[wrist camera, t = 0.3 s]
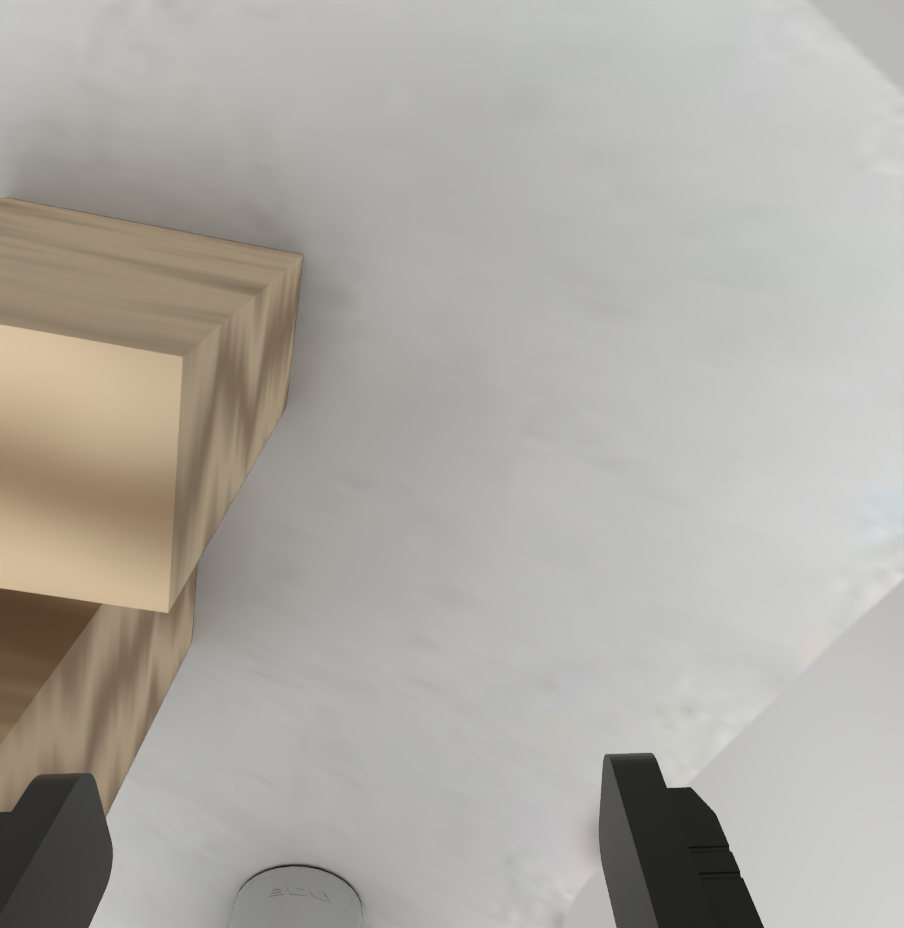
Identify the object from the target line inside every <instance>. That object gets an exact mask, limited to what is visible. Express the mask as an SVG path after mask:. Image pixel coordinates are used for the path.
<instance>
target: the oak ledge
mask: <svg viewBox="0 0 904 928" xmlns="http://www.w3.org/2000/svg"><path fill="white" fill-rule="evenodd" d="M302 263H303V255H301V254H296V253H291V252H286V251H281V250H276V249H270V248H265V247H260V246H255V245H250V244H244V243H239V242H234V241H229V240H224V239H219V238H213V237H208V236H203V235H198V234H193V233H187V232H182V231H177V230H172V229H167V228H162V227H156V226H151V225H146V224H141V223H136V222H130V221H125V220H120V219H115V218H110V217H105V216H99V215H94V214H89V213H84V212H79V211H73V210H68V209H63V208H58V207H53V206H48V205H42V204H37V203H32V202H27V201H22V200H16V199H11V198H2V199H0V588H3V589H10V590H17V591H23V592H30V593H37V594H43V595H50V596H57V597H63V598H70V599H77V600H83V601H90V602H97V603H104V604H110V605H117V606H124V607H130V608H137V609H144V610H150V611H157V612H164V613H169V611H170V609H171V607H172V606H173V604H174V602H175V600H176V599H177V597H178V595H179V593H180V592H181V590H182V588H183V586H184V585H185V583H186V581H187V579H188V578H189V576H190V574H191V572H192V571H193V569H194V567H195V565H196V564H197V562H198V560H199V559H200V557H201V555H202V553H203V552H204V550H205V548H206V546H207V545H208V543H209V541H210V539H211V538H212V536H213V534H214V532H215V531H216V529H217V527H218V525H219V524H220V522H221V520H222V518H223V517H224V515H225V513H226V511H227V510H228V508H229V506H230V504H231V503H232V501H233V499H234V497H235V496H236V494H237V492H238V490H239V489H240V487H241V485H242V483H243V482H244V480H245V478H246V477H247V475H248V473H249V471H250V470H251V468H252V466H253V464H254V463H255V461H256V459H257V457H258V456H259V454H260V452H261V450H262V449H263V447H264V445H265V443H266V442H267V440H268V438H269V436H270V435H271V433H272V431H273V429H274V428H275V426H276V424H277V422H278V421H279V419H280V417H281V415H282V414H283V412H284V410H285V408H286V403H287V394H288V385H289V376H290V368H291V359H292V350H293V341H294V333H295V324H296V315H297V306H298V298H299V289H300V280H301V271H302Z"/></svg>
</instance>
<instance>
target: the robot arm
mask: <svg viewBox="0 0 904 928" xmlns="http://www.w3.org/2000/svg"><path fill="white" fill-rule="evenodd" d="M599 843H600V853H601V860H602V866H603V871H604V875H605V880H606V884H607V888H608V892H609V897H610V901H611V905H612V909H613V913H614V918H615V922H616V927H617V928H764V927H763V924H762V922H761V920H760V917H759V915H758V913H757V910H756V908H755V905H754V903H753V901H752V899H751V896H750V894H749V891H748V889H747V887H746V884H745V882H744V880H743V878H741V876H740V870H739V868H738V865H737V863H736V861H735V858H734V856H733V854H732V852H730V850H729V844H728V842H727V840H726V837H725V835H724V832H723V830H722V828H721V825H720V823H719V821H718V818H717V816H716V814H715V813H714V812H713V810H711V808H710V807H709V806H708V805H707V804H706V803H705V802H704V801H703V800H702V799H701V798H700V797H699V796H698V794H697V793H696V792H695V791H694V790H693V789H692V788H691V787H686V788H667V787H666V784H665V782H664V779H663V776H662V773H661V771H660V768H659V765H658V762H657V760H656V758H655V756H654V755H653V754H652V753H630V754H606V755H605V756H604V760H603V771H602V786H601V801H600V816H599ZM112 859H113V848H112V842H111V837H110V834H109V830H108V826H107V822H106V818H105V814H104V810H103V807H102V803H101V799H100V795H99V791H98V787H97V783H96V780H95V778H94V776H93V775H92V774H90V773H67V774H41V775H38V776H36V777H35V778H34V779H33V780H32V781H31V782H30V784H29V785H28V787H27V788H26V790H25V791H24V793H23V794H22V796H21V798H20V799H19V801H18V802H17V804H16V805H15V807H14V808H13V810H12V812H0V928H89V925H90V923H91V921H92V919H93V916H94V914H95V912H96V910H97V907H98V905H99V903H100V901H101V899H102V896H103V894H104V892H105V890H106V887H107V884H108V881H109V877H110V873H111V868H112ZM362 916H363V915H362V905H361V903H360V900H359V898H358V896H357V895H356V893H355V892H354V890H353V889H352V888H351V887H350V886H349V885H347V884H346V883H345V882H344V881H343V880H341V879H339V878H338V877H336V876H334V875H332V874H330V873H327V872H324V871H321V870H318V869H313V868H308V867H293V866H292V867H282V868H276V869H273V870H269V871H265V872H263V873H261V874H259V875H257V876H255V877H254V878H252V879H251V880H250V881H248V882H247V883H246V884H245V885H244V886H243V887H242V889H241V890H240V891H239V893H238V895H237V898H236V900H235V903H234V907H233V911H232V914H231V918H230V922H229V926H228V928H361V926H362Z"/></svg>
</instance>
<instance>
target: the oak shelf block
mask: <svg viewBox="0 0 904 928" xmlns="http://www.w3.org/2000/svg"><path fill="white" fill-rule="evenodd" d="M196 573H197V564H196V565H195V567H194V569H193V571H192V572H191V574H190V576H189V578H188V579H187V581H186V583H185V585H184V586H183V588H182V590H181V592H180V593H179V595H178V597H177V599H176V600H175V602H174V604H173V606H172V607H171V609H170V611H169V613H164V612H157V611H150V610H144V609H137V608H130V607H124V606H117V605H110V604H104V603H97V602H90V601H83V600H77V599H70V598H63V597H57V596H50V595H43V594H37V593H30V592H23V591H17V590H10V589H3V588H0V812H12V810H13V808H14V807H15V805H16V804H17V802H18V801H19V799H20V798H21V796H22V794H23V793H24V791H25V790H26V788H27V787H28V785H29V784H30V782H31V781H32V780H33V779H34V778H35V777H36V776H38V775H41V774H67V773H90V774H92V775H93V776H94V778H95V780H96V783H97V787H98V791H99V795H100V799H101V803H102V807H103V810H104V814H105V818H106V816H107V814H108V812H109V810H110V808H111V805H112V803H113V801H114V799H115V797H116V795H117V793H118V791H119V789H120V787H121V785H122V783H123V781H124V779H125V777H126V775H127V773H128V771H129V769H130V767H131V765H132V763H133V761H134V759H135V757H136V755H137V753H138V751H139V749H140V747H141V745H142V743H143V741H144V739H145V736H146V734H147V732H148V730H149V728H150V726H151V724H152V722H153V720H154V718H155V716H156V714H157V712H158V710H159V708H160V706H161V704H162V702H163V700H164V698H165V696H166V694H167V692H168V690H169V688H170V686H171V684H172V682H173V680H174V678H175V676H176V674H177V672H178V670H179V667H180V665H181V663H182V661H183V659H184V657H185V655H186V653H187V651H188V649H189V647H190V645H191V642H192V628H193V615H194V601H195V587H196Z"/></svg>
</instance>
